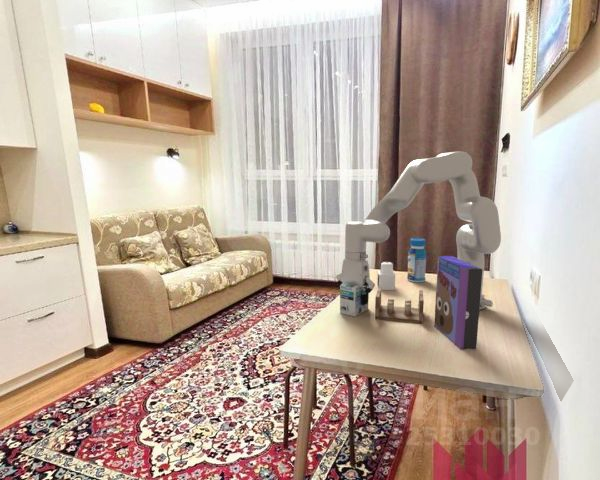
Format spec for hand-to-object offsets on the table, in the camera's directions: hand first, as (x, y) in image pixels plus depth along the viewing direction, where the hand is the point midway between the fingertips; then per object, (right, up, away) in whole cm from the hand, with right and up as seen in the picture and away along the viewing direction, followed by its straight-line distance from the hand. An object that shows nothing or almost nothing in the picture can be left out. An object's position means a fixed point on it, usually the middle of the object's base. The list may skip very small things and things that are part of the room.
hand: (354, 301), depth 141 cm
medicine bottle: (+18, +1, +29) cm, 34 cm away
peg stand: (+15, -4, -4) cm, 17 cm away
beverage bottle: (+35, +3, +41) cm, 54 cm away
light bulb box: (0, -4, +1) cm, 4 cm away
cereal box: (+28, -8, -22) cm, 36 cm away
